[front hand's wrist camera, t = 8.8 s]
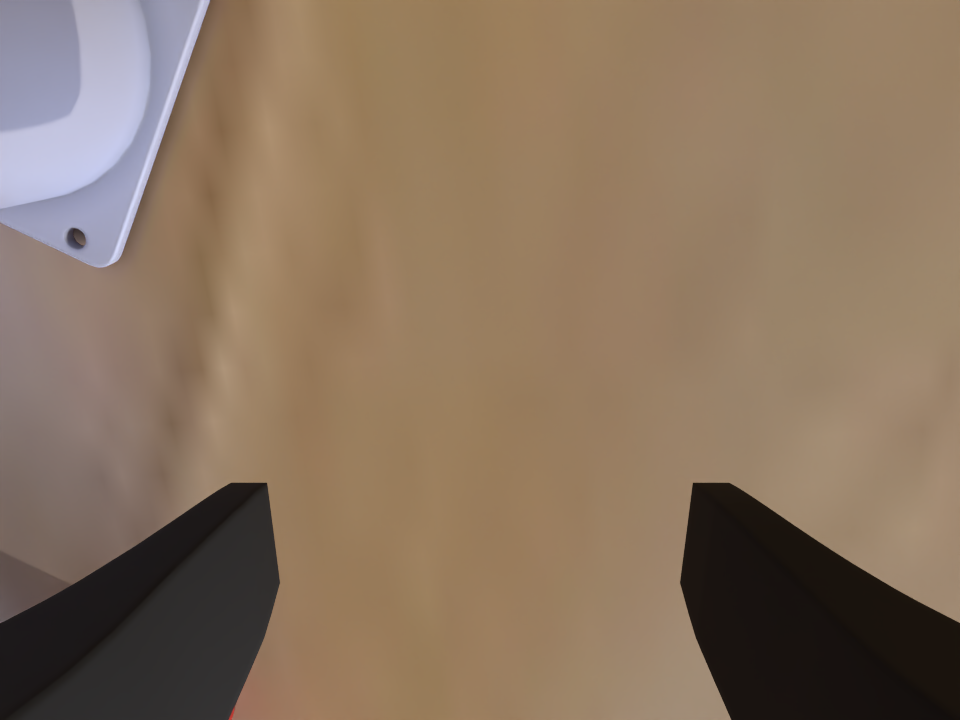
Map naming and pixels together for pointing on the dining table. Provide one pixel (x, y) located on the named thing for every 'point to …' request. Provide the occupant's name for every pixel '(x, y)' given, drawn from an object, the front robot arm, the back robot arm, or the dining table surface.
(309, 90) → the dining table surface
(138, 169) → the front robot arm
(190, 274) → the dining table surface
